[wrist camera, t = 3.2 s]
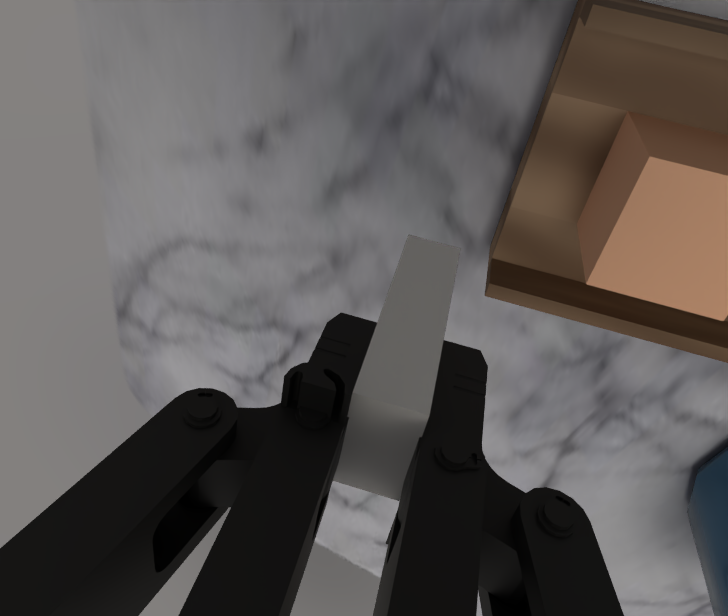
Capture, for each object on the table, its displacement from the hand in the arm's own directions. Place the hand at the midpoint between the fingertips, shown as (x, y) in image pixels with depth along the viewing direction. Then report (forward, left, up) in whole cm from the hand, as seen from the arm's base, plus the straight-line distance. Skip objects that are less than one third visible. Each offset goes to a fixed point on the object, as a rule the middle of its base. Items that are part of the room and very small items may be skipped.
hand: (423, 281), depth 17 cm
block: (0, +9, -13) cm, 15 cm away
